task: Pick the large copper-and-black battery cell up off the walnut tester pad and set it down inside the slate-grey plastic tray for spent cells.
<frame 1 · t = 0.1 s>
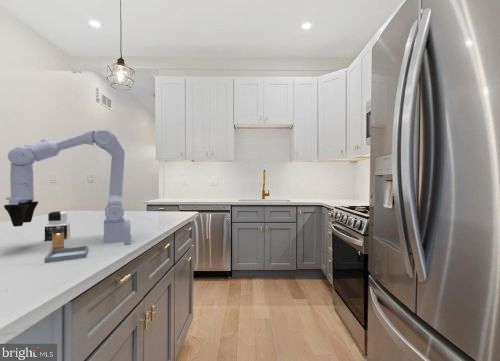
hand: (22, 224, 85), 10 cm above the worktop, tool pointing down, fingers open, 7 cm apart
medicine bottle: (58, 241, 102), on the worktop
tester pad: (58, 252, 86), on the worktop
cell: (58, 249, 86), point 1 cm above the worktop, touching tester pad
tray: (68, 259, 79), on the worktop
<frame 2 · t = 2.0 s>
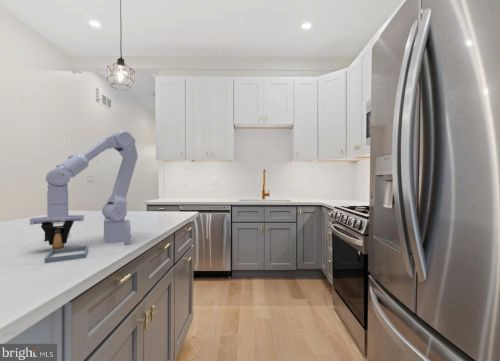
hand: (58, 243, 86), 3 cm above the worktop, tool pointing down, fingers closed on cell, 3 cm apart
cell: (58, 249, 86), point 1 cm above the worktop, touching gripper, tester pad
everything else where it was.
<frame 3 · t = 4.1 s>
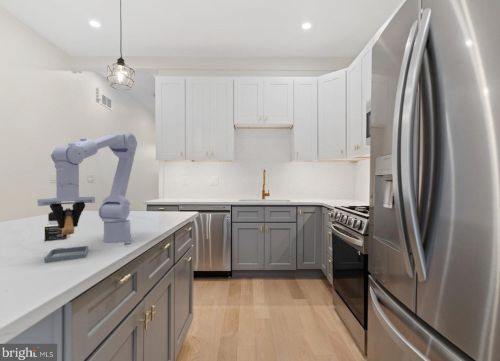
hand: (68, 227, 79), 10 cm above the worktop, tool pointing down, fingers closed on cell, 3 cm apart
cell: (68, 233, 79), point 8 cm above the worktop, touching gripper
everything else where it was.
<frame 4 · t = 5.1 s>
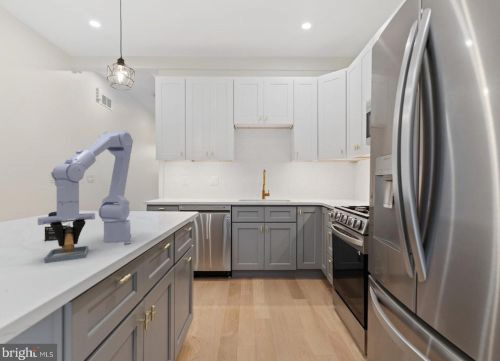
hand: (68, 244, 79), 5 cm above the worktop, tool pointing down, fingers closed on cell, 3 cm apart
cell: (68, 251, 79), point 3 cm above the worktop, touching gripper
everything else where it was.
when the fingers open (4 cm above the worktop, at t = 6.1 s): cell drops 1 cm, resting on tray.
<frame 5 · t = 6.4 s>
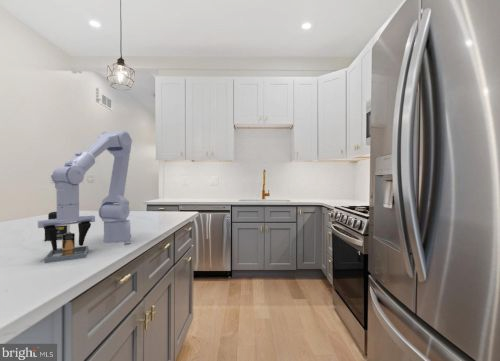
hand: (68, 247, 79), 4 cm above the worktop, tool pointing down, fingers open, 6 cm apart
cell: (68, 257, 79), point 1 cm above the worktop, touching tray
everything else where it was.
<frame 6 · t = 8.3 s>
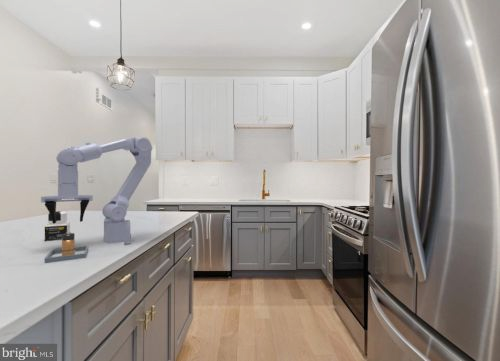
hand: (68, 222, 88), 10 cm above the worktop, tool pointing down, fingers open, 7 cm apart
nothing on the worktop moved.
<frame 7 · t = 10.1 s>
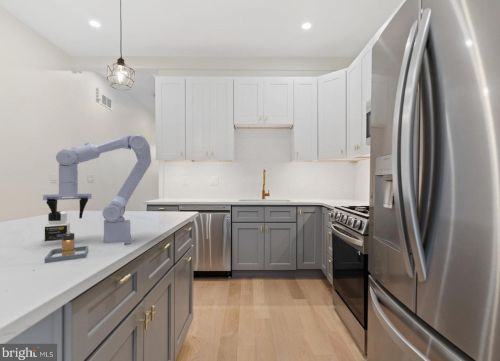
hand: (68, 218, 93), 10 cm above the worktop, tool pointing down, fingers open, 7 cm apart
nothing on the worktop moved.
at the end: cell inside the target area on the tray (0.0 cm from its centre), point 0.6 cm above the tray's base; the gripper is holding nothing; cell moved 10.8 cm from its start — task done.
